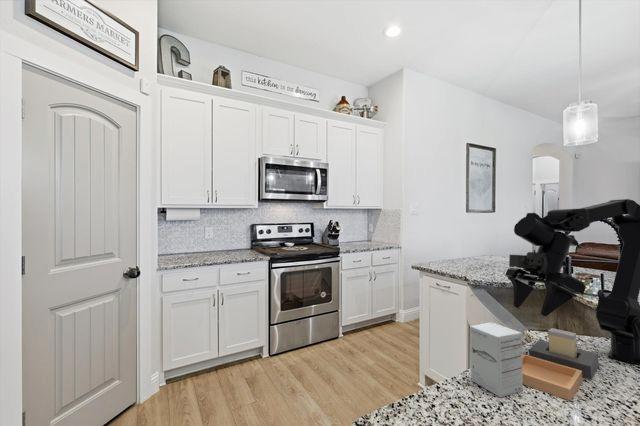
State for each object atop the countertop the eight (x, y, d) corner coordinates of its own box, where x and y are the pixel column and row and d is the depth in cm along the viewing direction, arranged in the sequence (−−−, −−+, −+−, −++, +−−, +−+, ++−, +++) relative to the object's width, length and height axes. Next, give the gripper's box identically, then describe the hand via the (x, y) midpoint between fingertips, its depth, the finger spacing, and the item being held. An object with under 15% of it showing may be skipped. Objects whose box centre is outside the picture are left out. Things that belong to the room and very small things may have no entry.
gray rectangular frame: (540, 350, 83) (540, 339, 83) (598, 366, 74) (598, 353, 74) (529, 361, 76) (528, 349, 77) (591, 379, 67) (590, 366, 67)
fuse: (552, 358, 78) (551, 328, 78) (577, 365, 74) (576, 333, 74) (549, 362, 76) (548, 330, 76) (574, 369, 72) (573, 336, 72)
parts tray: (522, 362, 76) (522, 353, 76) (582, 381, 67) (582, 370, 67) (506, 378, 68) (505, 368, 68) (570, 401, 59) (570, 389, 59)
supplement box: (470, 381, 67) (468, 325, 68) (493, 374, 70) (491, 321, 70) (499, 399, 60) (497, 336, 61) (524, 391, 63) (522, 331, 63)
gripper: (498, 240, 84) (477, 290, 82) (552, 238, 65) (526, 303, 64) (534, 258, 84) (514, 308, 82) (598, 261, 65) (573, 327, 63)
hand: (528, 311), depth 73 cm, fingers open, 9 cm apart
